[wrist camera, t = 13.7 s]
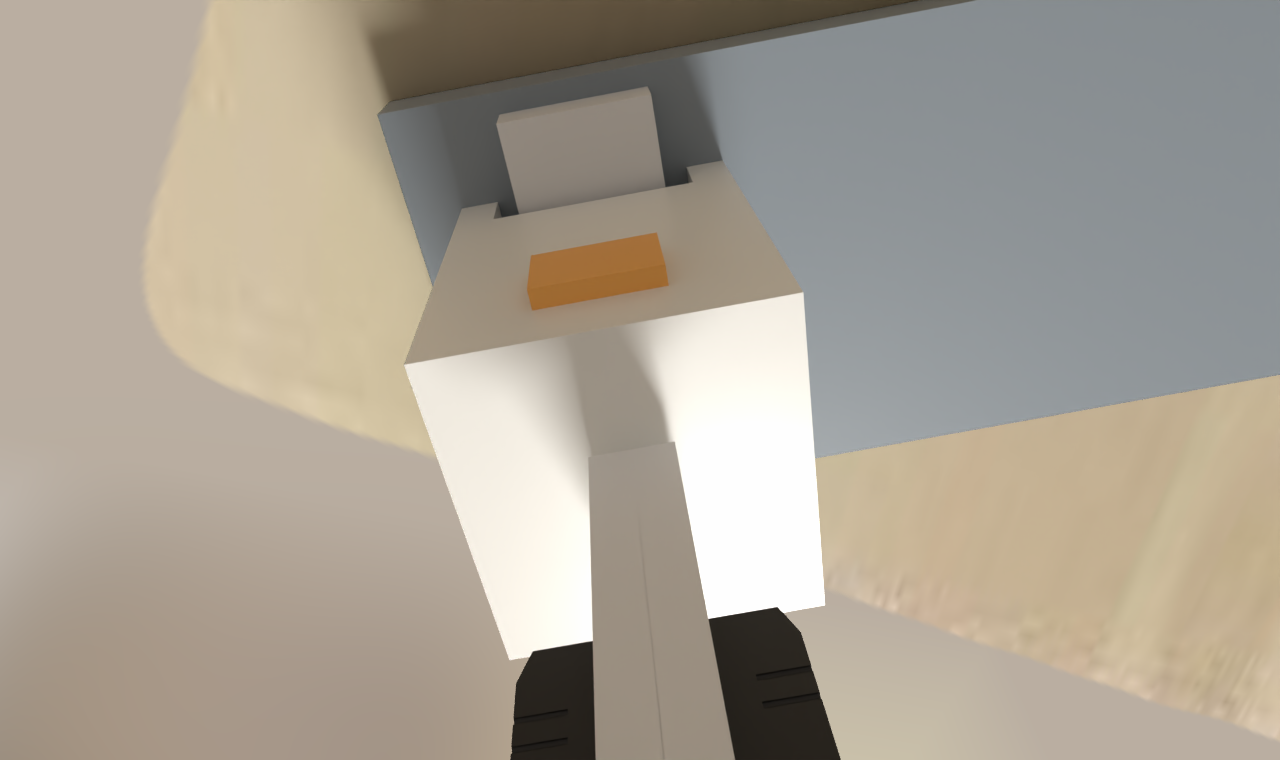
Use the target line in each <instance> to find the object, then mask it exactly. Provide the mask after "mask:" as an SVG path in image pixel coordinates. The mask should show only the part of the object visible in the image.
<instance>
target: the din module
mask: <svg viewBox="0 0 1280 760" xmlns="http://www.w3.org/2000/svg"><path fill="white" fill-rule="evenodd" d="M686 168H687V176H688V183H687V184H681V185H676V186H671V187H665V188H660V189H654V190H649V191H643V192H638V193H633V194H627V195H622V196H616V197H611V198H606V199H600V200H595V201H589V202H584V203H578V204H573V205H568V206H562V207H557V208H551V209H546V210H541V211H535V212H530V213H524V214H519V215H513V216H508V217H503V218H502V216H501V212H500V209H499V205H498V202H495V203H490V204H484V205H479V206H473V207H468V208H463V209H462V210H461V212H460V215H459V218H458V220H457V223H456V226H455V228H454V231H453V234H452V237H451V239H450V242H449V245H448V247H447V250H446V253H445V255H444V258H443V261H442V264H441V266H440V269H439V272H438V274H437V277H436V280H435V282H434V285H433V288H432V290H431V293H430V296H429V299H428V301H427V304H426V307H425V309H424V312H423V315H422V317H421V320H420V323H419V326H418V328H417V331H416V334H415V336H414V339H413V342H412V344H411V347H410V350H409V353H408V355H407V358H406V361H405V363H404V367H405V369H406V372H407V375H408V378H409V381H410V383H411V386H412V389H413V392H414V394H415V397H416V400H417V403H418V406H419V408H420V411H421V414H422V417H423V420H424V422H425V425H426V428H427V431H428V434H429V436H430V439H431V442H432V445H433V447H434V450H435V453H436V456H437V459H438V461H439V464H440V467H441V470H442V472H443V475H444V478H445V481H446V484H447V486H448V489H449V492H450V495H451V498H452V500H453V503H454V506H455V509H456V511H457V514H458V517H459V520H460V523H461V526H462V528H463V531H464V534H465V537H466V540H467V542H468V545H469V548H470V551H471V553H472V556H473V559H474V561H475V565H476V567H477V570H478V573H479V576H480V579H481V581H482V584H483V587H484V590H485V593H486V595H487V598H488V601H489V603H490V606H491V609H492V611H493V615H494V618H495V620H496V623H497V626H498V629H499V632H500V634H501V637H502V640H503V643H504V646H505V648H506V651H507V654H508V657H509V659H510V660H513V659H519V658H525V657H530V656H531V654H532V652H533V651H537V650H543V649H548V648H554V647H560V646H566V645H571V644H577V643H583V642H589V641H593V630H592V590H591V550H590V509H589V469H588V457H592V456H597V455H603V454H608V453H614V452H619V451H625V450H631V449H636V448H642V447H647V446H653V445H659V444H664V443H670V442H675V445H676V450H677V455H678V461H679V466H680V471H681V477H682V482H683V487H684V493H685V498H686V503H687V508H688V514H689V519H690V524H691V530H692V535H693V540H694V545H695V551H696V556H697V561H698V567H699V572H700V577H701V583H702V588H703V593H704V598H705V604H706V609H707V614H708V619H709V618H715V617H721V616H726V615H732V614H738V613H744V612H749V611H755V610H761V609H767V608H773V607H778V608H779V609H780V610H781V611H782V612H788V611H794V610H799V609H806V608H811V607H817V606H823V605H825V599H824V584H823V570H822V555H821V541H820V526H819V512H818V497H817V483H816V468H815V454H814V439H813V425H812V410H811V396H810V381H809V367H808V352H807V338H806V323H805V309H804V294H803V291H802V289H801V288H800V286H799V284H798V283H797V281H796V279H795V278H794V276H793V275H792V273H791V271H790V270H789V268H788V266H787V265H786V263H785V261H784V260H783V258H782V257H781V255H780V253H779V252H778V250H777V248H776V247H775V245H774V244H773V242H772V240H771V239H770V237H769V235H768V234H767V232H766V230H765V229H764V227H763V226H762V224H761V222H760V221H759V219H758V217H757V216H756V214H755V212H754V211H753V209H752V208H751V206H750V204H749V203H748V201H747V199H746V198H745V196H744V194H743V193H742V191H741V190H740V188H739V186H738V185H737V183H736V181H735V180H734V178H733V176H732V175H731V173H730V172H729V170H728V168H727V167H726V165H725V163H724V162H723V160H722V161H717V162H711V163H706V164H700V165H695V166H690V167H686Z"/></svg>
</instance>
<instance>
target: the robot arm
mask: <svg viewBox="0 0 1280 760" xmlns="http://www.w3.org/2000/svg"><path fill="white" fill-rule="evenodd" d="M588 469H589V509H590V550H591V590H592V630H593V641H589V642H583V643H577V644H571V645H566V646H560V647H554V648H548V649H543V650H537V651H533V652H532V654H531V656H530V658H529V660H528V662H527V663H526V666H525V667H524V669H523V671H522V674H521V675H520V677H519V679H518V681H517V683H516V693H515V706H514V725H513V733H512V754H511V759H510V760H840V756H839V753H838V749H837V746H836V743H835V740H834V737H833V734H832V731H831V727H830V724H829V721H828V718H827V714H826V711H825V708H824V705H823V702H822V699H821V697H820V692H819V689H818V686H817V682H816V679H815V677H814V673H813V672H812V668H811V663H810V660H809V657H808V654H807V651H806V647H805V644H804V641H803V638H802V635H801V632H800V631H799V630H798V629H797V628H796V627H795V626H794V624H793V623H792V622H791V621H790V620H789V619H788V618H787V617H786V616H785V615H784V613H783V612H782V611H781V610H780V609H779V608H778V607H773V608H767V609H761V610H755V611H749V612H744V613H738V614H732V615H726V616H721V617H715V618H709V619H708V614H707V609H706V604H705V598H704V593H703V588H702V583H701V577H700V572H699V567H698V561H697V556H696V551H695V545H694V540H693V535H692V530H691V524H690V519H689V514H688V508H687V503H686V498H685V493H684V487H683V482H682V477H681V471H680V466H679V461H678V455H677V450H676V445H675V442H670V443H664V444H659V445H653V446H647V447H642V448H636V449H631V450H625V451H619V452H614V453H608V454H603V455H597V456H592V457H588Z"/></svg>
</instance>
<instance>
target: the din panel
mask: <svg viewBox="0 0 1280 760" xmlns="http://www.w3.org/2000/svg"><path fill="white" fill-rule="evenodd" d="M378 118H379V121H380V124H381V128H382V131H383V134H384V137H385V140H386V143H387V146H388V149H389V152H390V155H391V159H392V162H393V165H394V168H395V171H396V174H397V177H398V180H399V183H400V186H401V189H402V193H403V196H404V199H405V202H406V205H407V208H408V211H409V214H410V217H411V220H412V224H413V227H414V230H415V233H416V236H417V239H418V242H419V245H420V248H421V251H422V255H423V258H424V261H425V264H426V267H427V270H428V273H429V276H430V279H431V282H432V285H434V282H435V280H436V277H437V274H438V272H439V269H440V266H441V264H442V261H443V258H444V255H445V253H446V250H447V247H448V245H449V242H450V239H451V237H452V234H453V231H454V228H455V226H456V223H457V220H458V218H459V215H460V212H461V210H462V209H463V208H468V207H473V206H479V205H484V204H490V203H495V202H498V205H499V209H500V212H501V216H502V218H503V217H508V216H513V215H519V214H524V213H530V212H535V211H541V210H546V209H551V208H557V207H562V206H568V205H573V204H578V203H584V202H589V201H595V200H600V199H606V198H611V197H616V196H622V195H627V194H633V193H638V192H643V191H649V190H654V189H660V188H665V187H671V186H676V185H681V184H687V183H688V176H687V168H686V167H690V166H695V165H700V164H706V163H711V162H717V161H722V160H723V162H724V163H725V165H726V167H727V168H728V170H729V172H730V173H731V175H732V176H733V178H734V180H735V181H736V183H737V185H738V186H739V188H740V190H741V191H742V193H743V194H744V196H745V198H746V199H747V201H748V203H749V204H750V206H751V208H752V209H753V211H754V212H755V214H756V216H757V217H758V219H759V221H760V222H761V224H762V226H763V227H764V229H765V230H766V232H767V234H768V235H769V237H770V239H771V240H772V242H773V244H774V245H775V247H776V248H777V250H778V252H779V253H780V255H781V257H782V258H783V260H784V261H785V263H786V265H787V266H788V268H789V270H790V271H791V273H792V275H793V276H794V278H795V279H796V281H797V283H798V284H799V286H800V288H801V289H802V291H803V294H804V309H805V323H806V338H807V352H808V367H809V381H810V396H811V410H812V425H813V439H814V454H815V458H820V457H826V456H831V455H837V454H842V453H848V452H853V451H859V450H864V449H870V448H876V447H881V446H887V445H892V444H898V443H903V442H909V441H914V440H920V439H926V438H931V437H937V436H942V435H948V434H953V433H959V432H964V431H970V430H976V429H981V428H987V427H992V426H998V425H1003V424H1009V423H1014V422H1020V421H1026V420H1031V419H1037V418H1042V417H1048V416H1053V415H1059V414H1064V413H1070V412H1076V411H1081V410H1087V409H1092V408H1098V407H1103V406H1109V405H1114V404H1120V403H1126V402H1131V401H1137V400H1142V399H1148V398H1153V397H1159V396H1164V395H1170V394H1176V393H1181V392H1187V391H1192V390H1198V389H1203V388H1209V387H1214V386H1220V385H1226V384H1231V383H1237V382H1242V381H1248V380H1253V379H1259V378H1264V377H1270V376H1276V375H1280V0H920V1H914V2H909V3H904V4H899V5H893V6H888V7H883V8H878V9H872V10H867V11H862V12H857V13H852V14H846V15H841V16H836V17H831V18H825V19H820V20H815V21H810V22H804V23H799V24H794V25H789V26H783V27H778V28H773V29H768V30H762V31H757V32H752V33H747V34H742V35H736V36H731V37H726V38H721V39H715V40H710V41H705V42H700V43H694V44H689V45H684V46H679V47H673V48H668V49H663V50H658V51H653V52H647V53H642V54H637V55H632V56H626V57H621V58H616V59H611V60H605V61H600V62H595V63H590V64H584V65H579V66H574V67H569V68H564V69H558V70H553V71H548V72H543V73H537V74H532V75H527V76H522V77H516V78H511V79H506V80H501V81H495V82H490V83H485V84H480V85H475V86H469V87H464V88H459V89H454V90H448V91H443V92H438V93H433V94H427V95H422V96H417V97H412V98H406V99H401V100H396V101H391V102H389V103H388V104H387V105H386V106H385V107H384V108H383V109H382V110H381V111H380V112H379V113H378Z"/></svg>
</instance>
